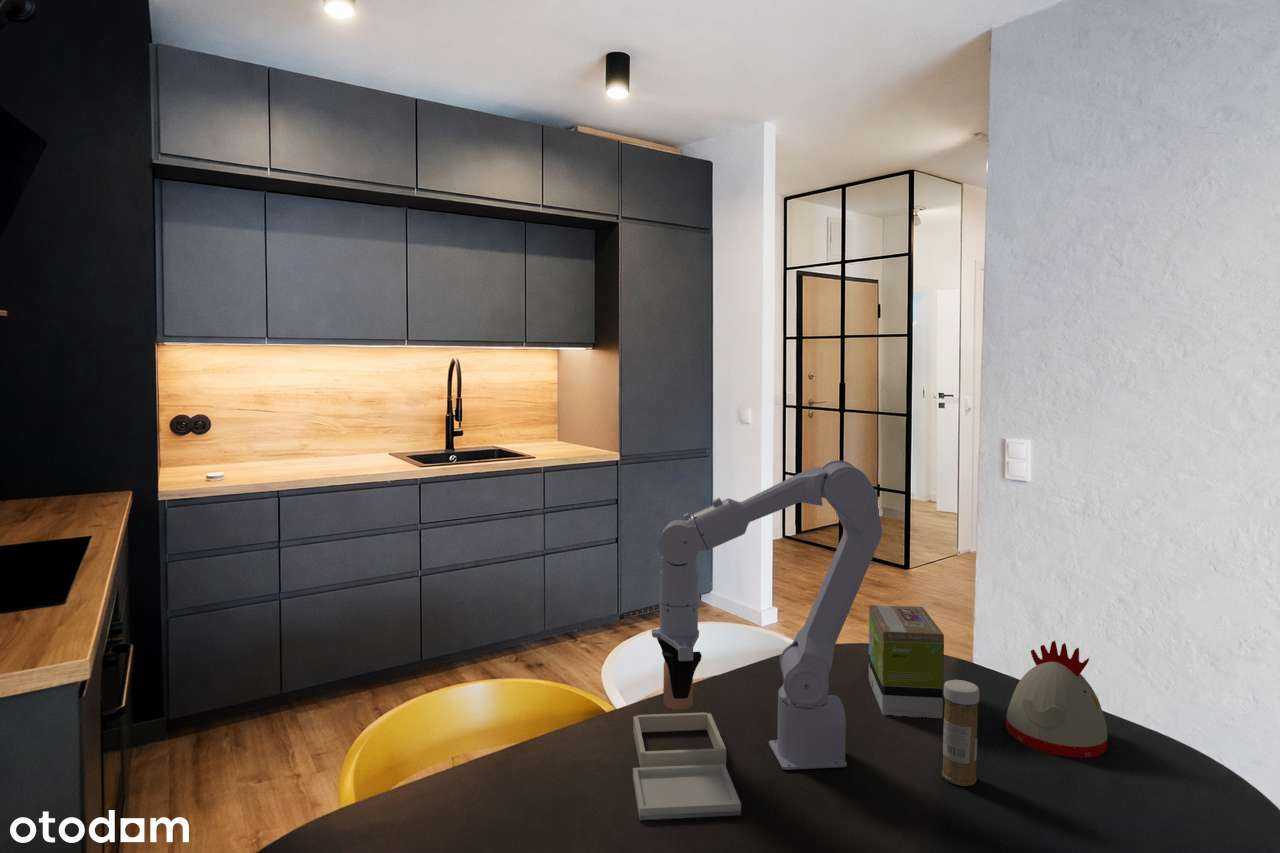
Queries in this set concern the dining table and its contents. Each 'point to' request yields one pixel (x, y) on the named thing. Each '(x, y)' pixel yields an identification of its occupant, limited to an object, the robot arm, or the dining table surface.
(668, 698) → the terracotta cylinder
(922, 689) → the tea box
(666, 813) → the tray
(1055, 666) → the kitchen timer
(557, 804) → the dining table surface
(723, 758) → the grey square frame
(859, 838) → the dining table surface
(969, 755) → the sprinkles bottle
